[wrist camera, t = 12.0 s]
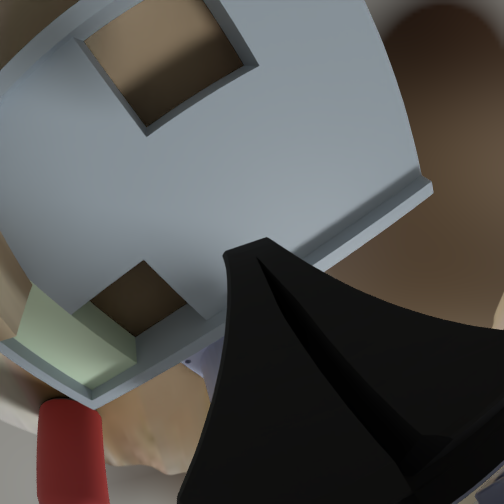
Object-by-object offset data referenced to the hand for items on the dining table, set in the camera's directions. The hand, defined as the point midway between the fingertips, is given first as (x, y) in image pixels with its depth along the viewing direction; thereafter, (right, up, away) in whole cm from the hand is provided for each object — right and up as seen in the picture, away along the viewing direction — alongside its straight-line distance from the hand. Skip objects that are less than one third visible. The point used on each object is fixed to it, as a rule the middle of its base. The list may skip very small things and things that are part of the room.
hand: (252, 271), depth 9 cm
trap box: (-5, +5, +7) cm, 10 cm away
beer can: (-18, -15, +16) cm, 28 cm away
